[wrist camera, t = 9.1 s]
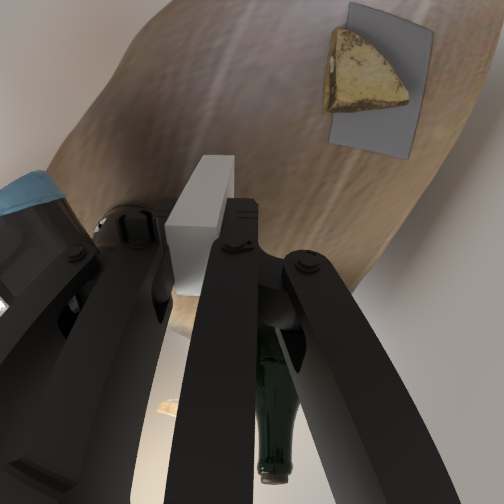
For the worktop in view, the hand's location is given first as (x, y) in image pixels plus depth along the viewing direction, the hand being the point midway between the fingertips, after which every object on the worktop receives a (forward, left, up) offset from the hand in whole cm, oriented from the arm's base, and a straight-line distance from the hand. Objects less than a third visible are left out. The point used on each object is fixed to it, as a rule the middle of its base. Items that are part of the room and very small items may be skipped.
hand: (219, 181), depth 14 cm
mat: (+17, +7, -24) cm, 30 cm away
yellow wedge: (+9, +7, -22) cm, 25 cm away
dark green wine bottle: (+8, -32, -25) cm, 41 cm away
